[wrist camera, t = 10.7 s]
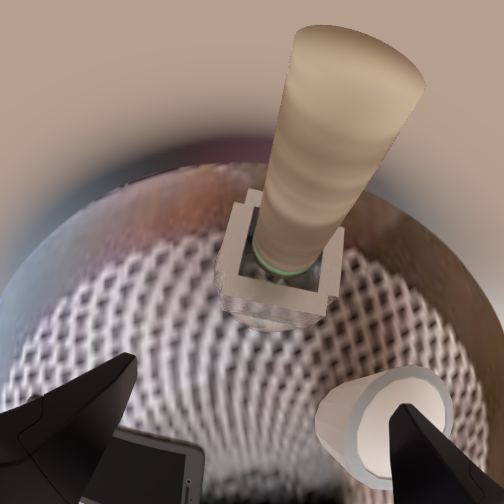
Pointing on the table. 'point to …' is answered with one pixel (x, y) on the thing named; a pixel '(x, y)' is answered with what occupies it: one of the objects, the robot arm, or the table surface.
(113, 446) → the cell phone
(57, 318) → the table surface
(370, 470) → the white short cylinder
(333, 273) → the stand
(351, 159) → the post
